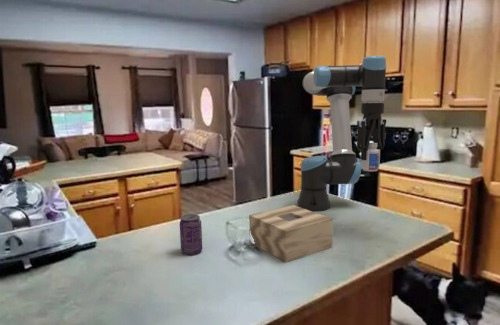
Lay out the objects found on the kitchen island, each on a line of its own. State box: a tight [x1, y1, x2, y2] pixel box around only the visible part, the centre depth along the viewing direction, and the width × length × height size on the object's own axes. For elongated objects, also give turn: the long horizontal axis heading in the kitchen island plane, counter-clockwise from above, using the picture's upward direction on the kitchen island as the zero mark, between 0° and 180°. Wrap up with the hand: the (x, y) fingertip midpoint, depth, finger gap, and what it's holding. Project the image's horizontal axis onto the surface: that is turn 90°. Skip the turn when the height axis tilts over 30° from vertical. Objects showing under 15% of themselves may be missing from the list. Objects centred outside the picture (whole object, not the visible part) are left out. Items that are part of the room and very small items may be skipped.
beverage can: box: [179, 213, 203, 256], centre depth 119 cm, size 7×7×12 cm
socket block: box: [248, 204, 334, 263], centre depth 124 cm, size 20×20×10 cm
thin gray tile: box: [282, 216, 298, 221], centre depth 123 cm, size 6×6×1 cm
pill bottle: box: [362, 142, 380, 172], centre depth 128 cm, size 6×5×10 cm
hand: (370, 167), depth 129 cm, fingers closed on pill bottle, 5 cm apart
